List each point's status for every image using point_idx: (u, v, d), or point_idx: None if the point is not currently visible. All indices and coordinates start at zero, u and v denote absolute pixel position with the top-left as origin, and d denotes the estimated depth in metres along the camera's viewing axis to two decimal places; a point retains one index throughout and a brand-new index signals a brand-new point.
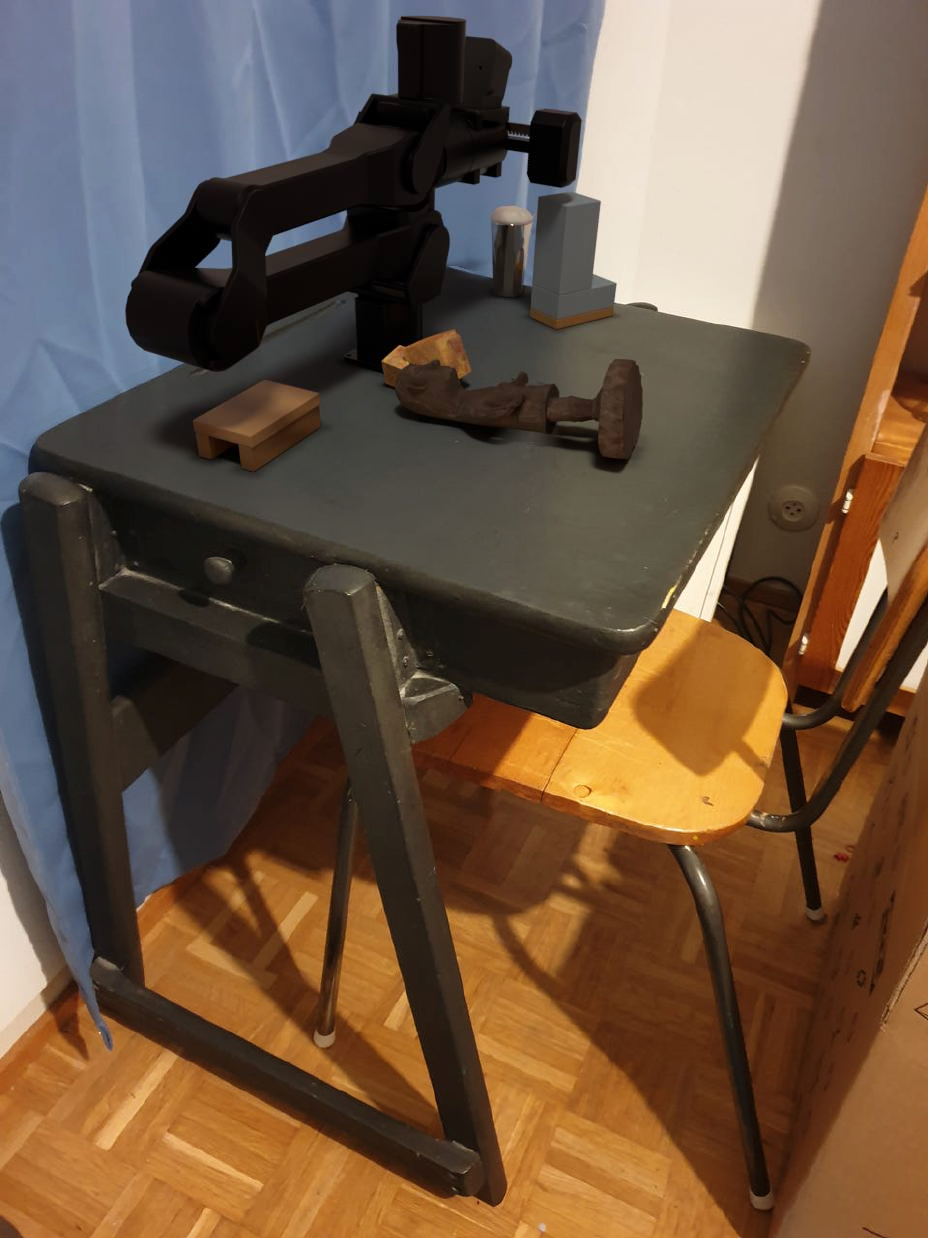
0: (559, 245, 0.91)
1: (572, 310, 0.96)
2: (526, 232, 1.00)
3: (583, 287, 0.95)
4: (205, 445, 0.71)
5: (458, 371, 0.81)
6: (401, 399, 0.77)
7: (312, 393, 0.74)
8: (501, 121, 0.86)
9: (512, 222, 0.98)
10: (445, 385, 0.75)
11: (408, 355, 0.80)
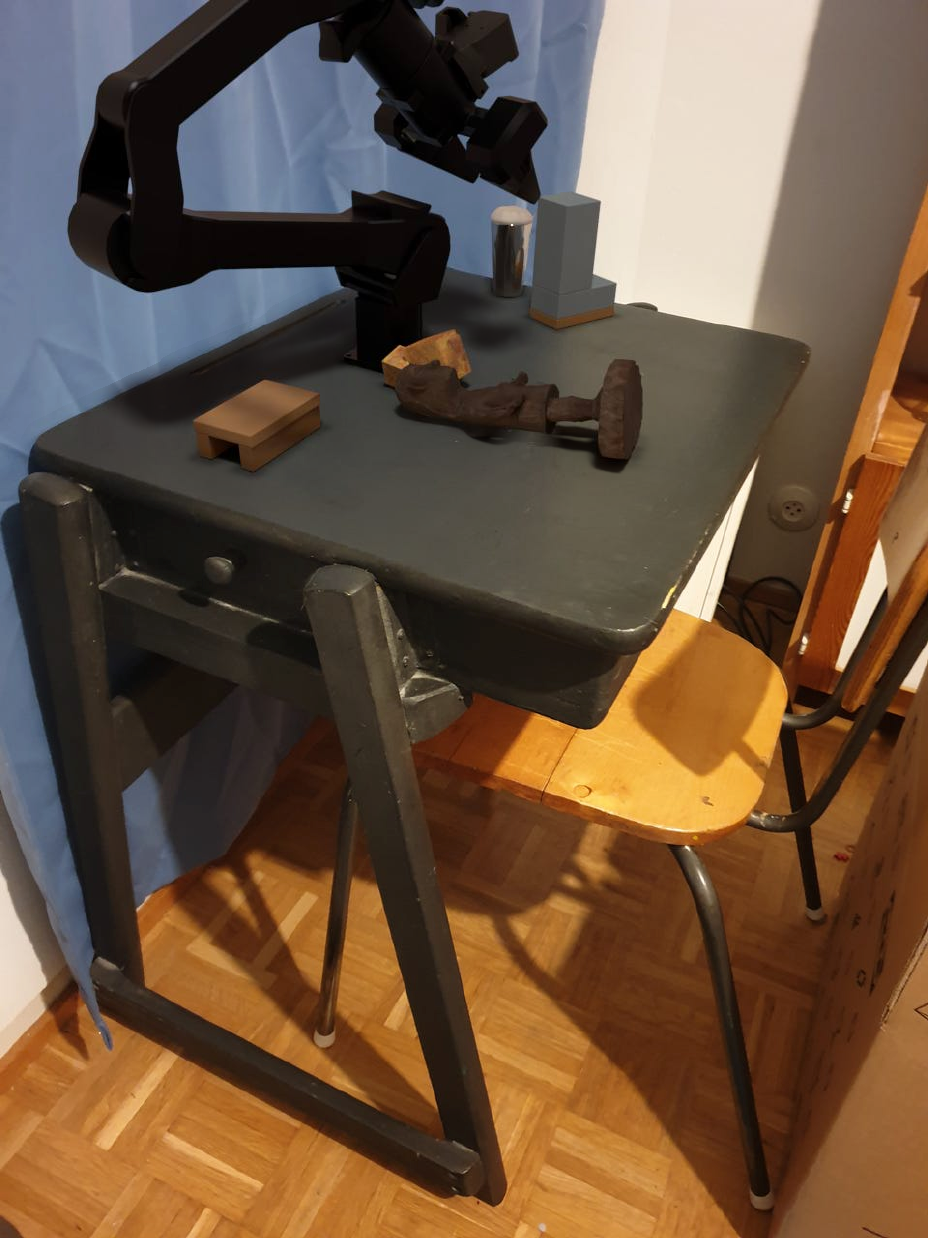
0: (559, 245, 0.91)
1: (572, 310, 0.96)
2: (526, 232, 1.00)
3: (583, 287, 0.95)
4: (205, 445, 0.71)
5: (458, 371, 0.81)
6: (401, 399, 0.77)
7: (312, 393, 0.74)
8: (472, 84, 0.76)
9: (512, 222, 0.98)
10: (445, 385, 0.75)
11: (408, 355, 0.80)
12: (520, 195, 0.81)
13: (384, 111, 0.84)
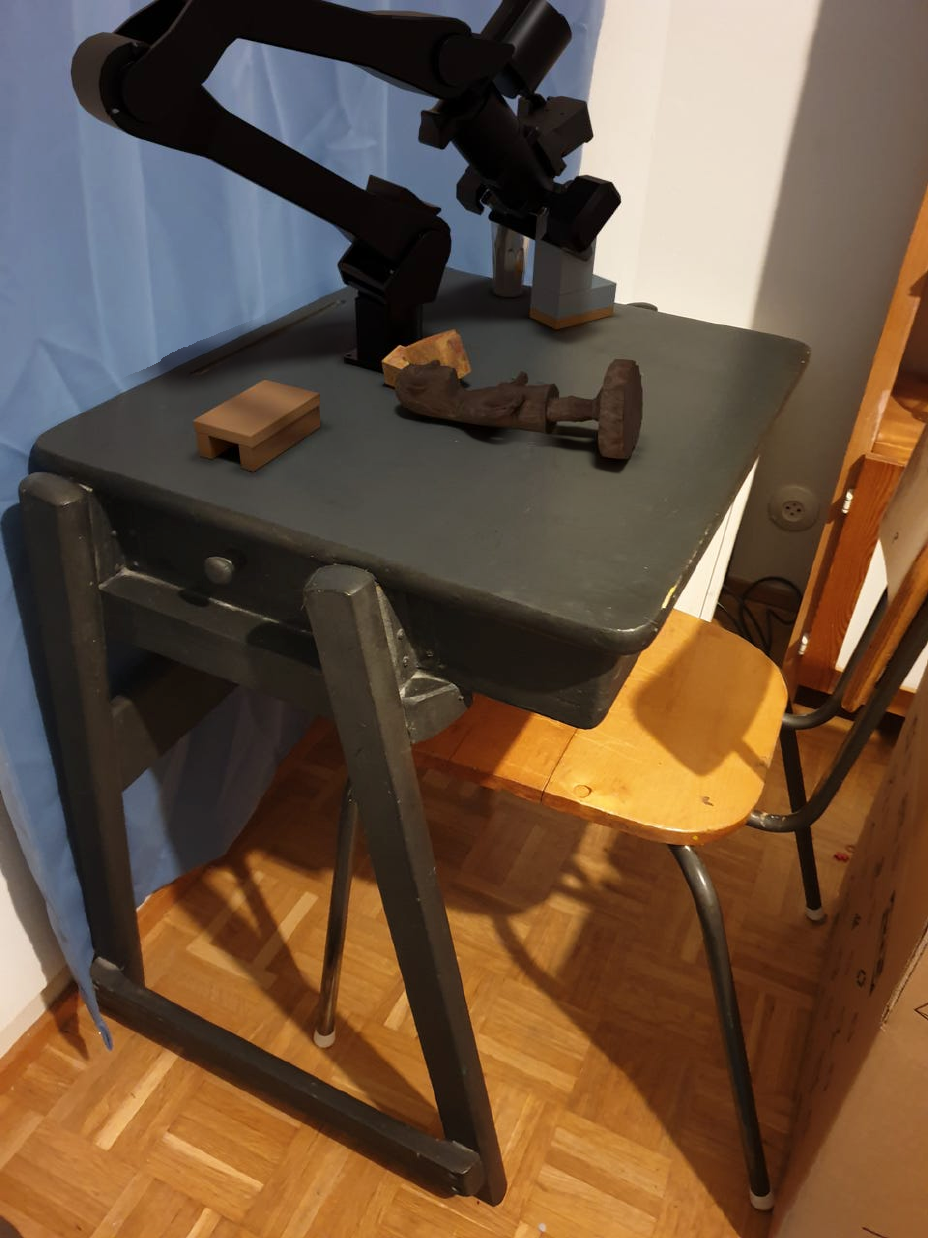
0: None
1: (572, 310, 0.96)
2: None
3: (583, 287, 0.95)
4: (205, 445, 0.71)
5: (458, 371, 0.81)
6: (401, 399, 0.77)
7: (312, 393, 0.74)
8: (552, 164, 0.84)
9: None
10: (445, 385, 0.75)
11: (408, 355, 0.80)
12: (575, 254, 0.91)
13: (466, 181, 0.92)
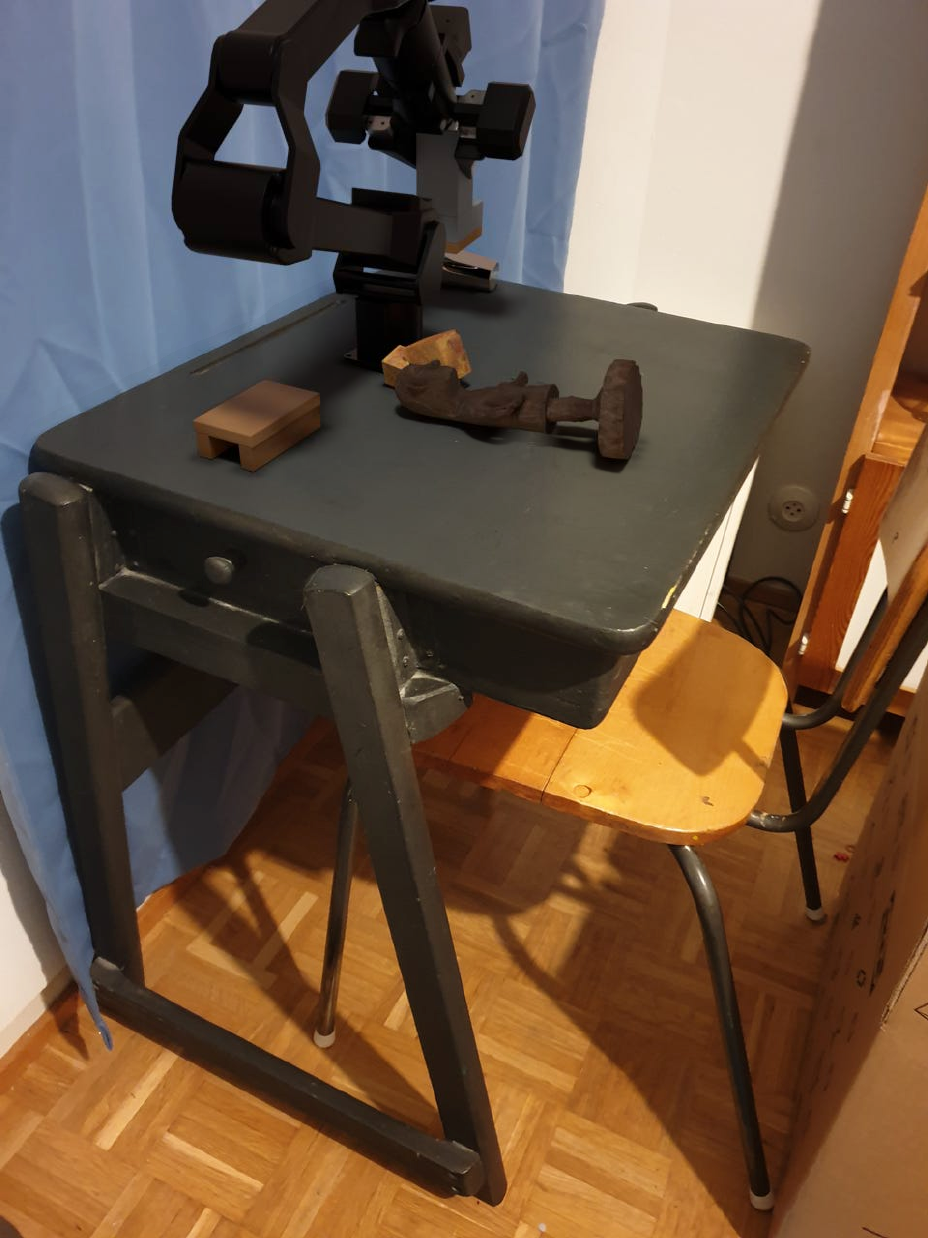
0: (453, 163, 0.88)
1: (464, 232, 0.94)
2: None
3: (468, 207, 0.93)
4: (205, 445, 0.71)
5: (458, 371, 0.81)
6: (401, 399, 0.77)
7: (312, 393, 0.74)
8: (458, 73, 0.81)
9: None
10: (445, 385, 0.75)
11: (408, 355, 0.80)
12: (471, 170, 0.89)
13: (341, 108, 0.84)
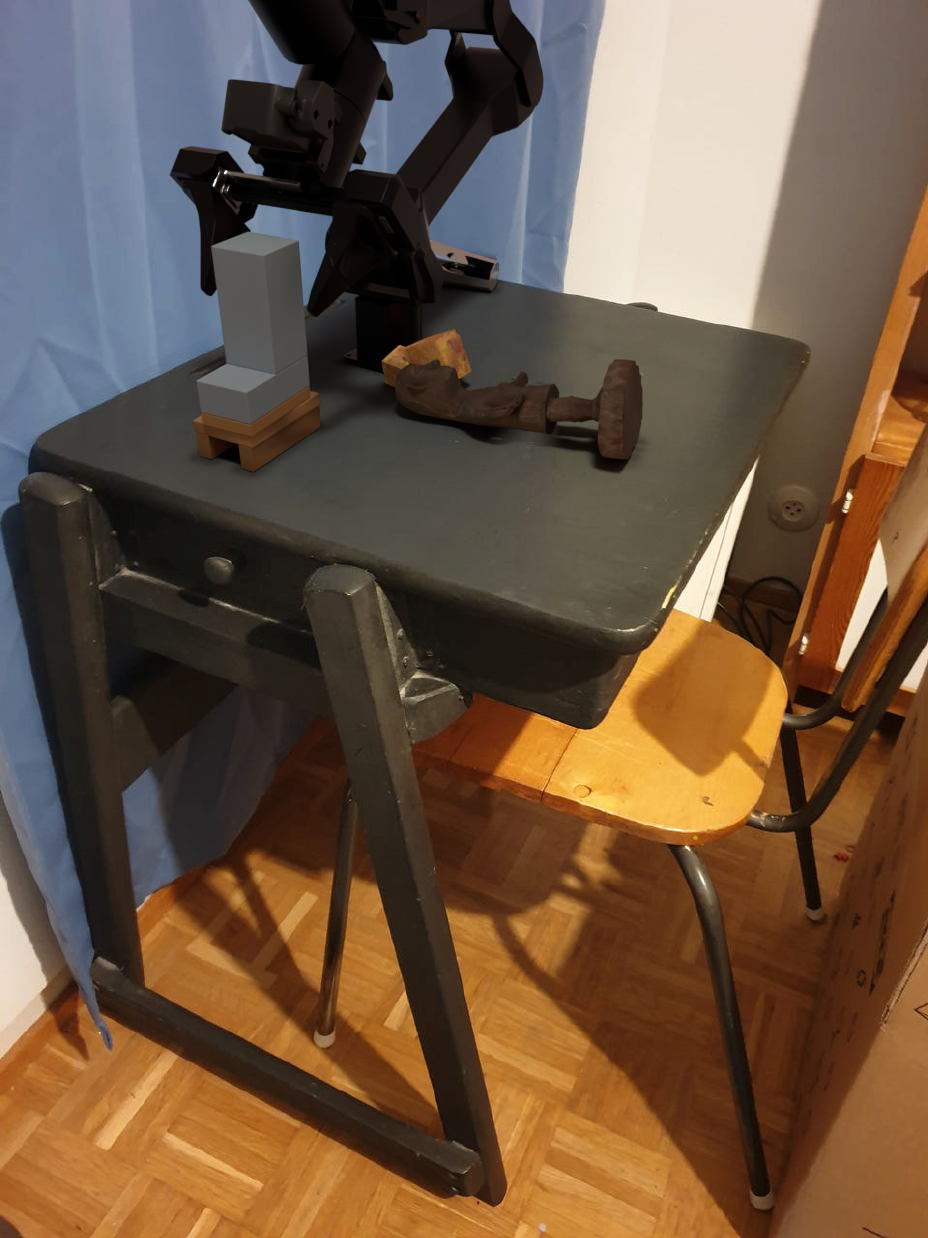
0: None
1: None
2: (436, 247, 1.04)
3: None
4: (205, 445, 0.71)
5: (458, 371, 0.81)
6: (401, 399, 0.77)
7: (312, 393, 0.74)
8: None
9: None
10: (445, 385, 0.75)
11: (408, 355, 0.80)
12: None
13: None
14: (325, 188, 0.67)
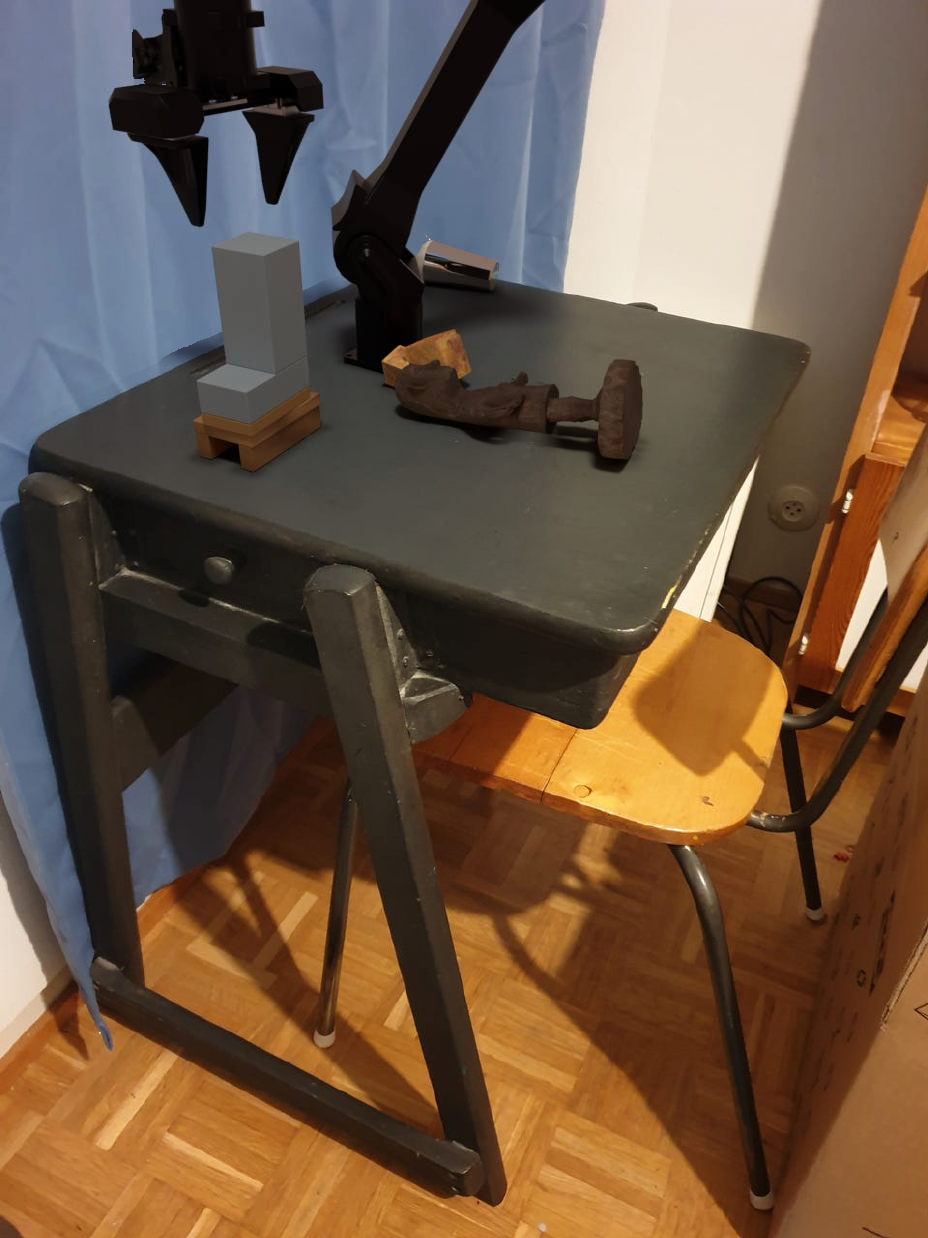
0: None
1: None
2: (436, 247, 1.04)
3: None
4: (205, 445, 0.71)
5: (458, 371, 0.81)
6: (401, 399, 0.77)
7: (312, 393, 0.74)
8: None
9: (421, 260, 1.04)
10: (445, 385, 0.75)
11: (408, 355, 0.80)
12: (287, 173, 0.81)
13: (164, 91, 0.67)
14: None
